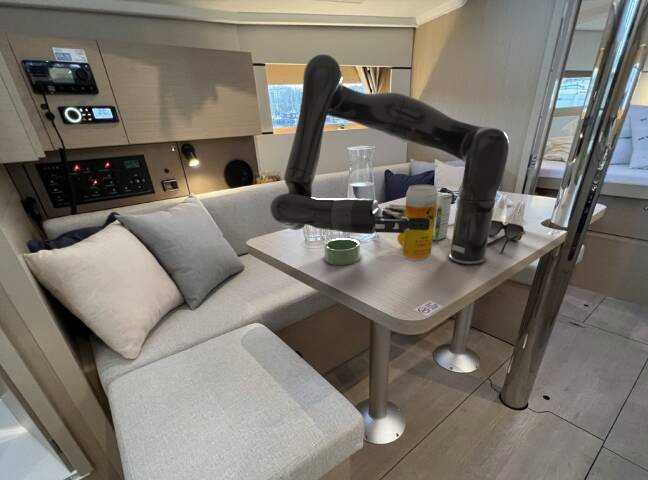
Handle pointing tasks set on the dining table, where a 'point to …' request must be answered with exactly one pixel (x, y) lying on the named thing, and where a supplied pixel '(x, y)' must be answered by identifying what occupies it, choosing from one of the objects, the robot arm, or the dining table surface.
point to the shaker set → (501, 212)
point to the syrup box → (442, 215)
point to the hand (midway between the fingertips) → (431, 219)
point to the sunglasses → (507, 231)
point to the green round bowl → (342, 251)
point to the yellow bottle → (419, 206)
